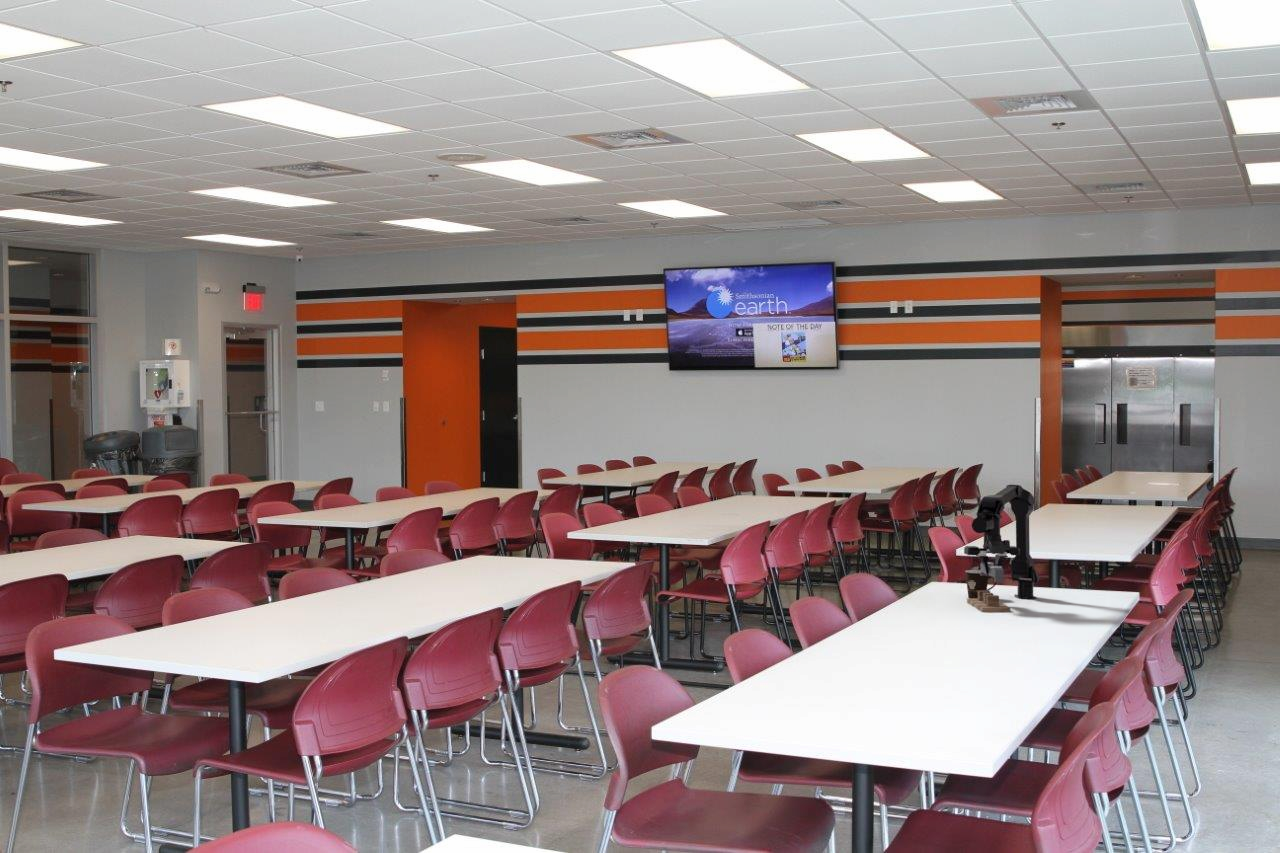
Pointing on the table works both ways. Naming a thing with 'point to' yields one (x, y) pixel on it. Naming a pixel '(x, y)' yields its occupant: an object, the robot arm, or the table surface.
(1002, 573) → the grey bar with knobs
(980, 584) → the coffee mug
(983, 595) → the display stand
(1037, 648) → the table surface
